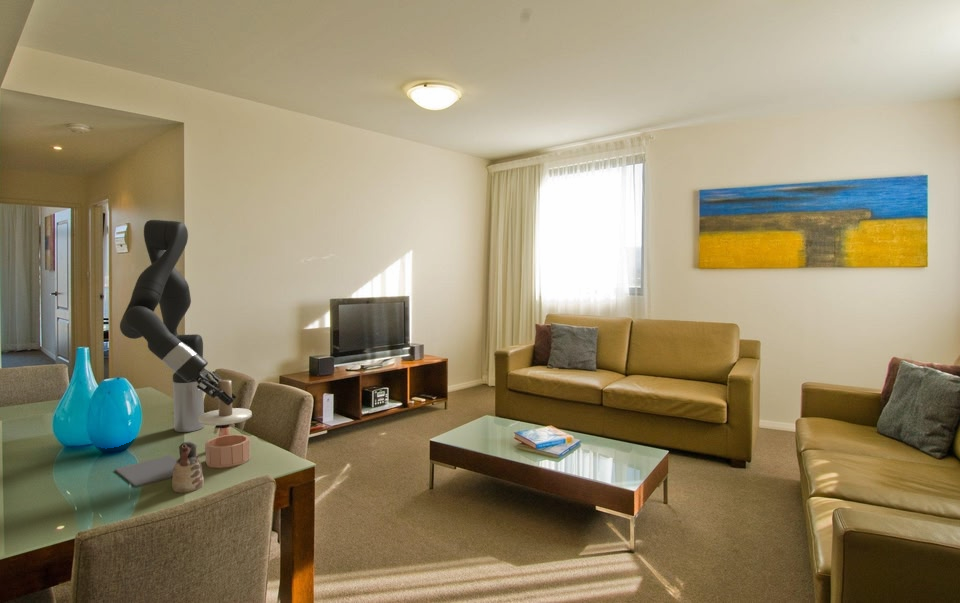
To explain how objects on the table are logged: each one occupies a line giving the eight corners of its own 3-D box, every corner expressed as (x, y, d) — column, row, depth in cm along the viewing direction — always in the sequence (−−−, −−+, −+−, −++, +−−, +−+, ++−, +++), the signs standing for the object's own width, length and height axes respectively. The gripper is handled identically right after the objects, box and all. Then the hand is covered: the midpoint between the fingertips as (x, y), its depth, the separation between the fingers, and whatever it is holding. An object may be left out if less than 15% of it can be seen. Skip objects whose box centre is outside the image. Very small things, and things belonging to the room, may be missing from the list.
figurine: (208, 480, 139) (206, 436, 139) (197, 492, 132) (195, 446, 132) (180, 482, 139) (178, 437, 138) (167, 493, 132) (165, 447, 131)
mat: (115, 470, 146) (114, 468, 146) (169, 456, 157) (169, 455, 157) (135, 487, 135) (135, 485, 135) (193, 471, 146) (193, 469, 146)
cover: (190, 418, 152) (189, 381, 151) (238, 408, 163) (238, 373, 162) (210, 428, 143) (209, 389, 142) (260, 417, 153) (259, 380, 153)
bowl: (199, 461, 153) (198, 441, 153) (238, 450, 162) (238, 431, 162) (217, 471, 146) (216, 450, 145) (257, 459, 155) (256, 440, 154)
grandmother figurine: (222, 450, 162) (221, 410, 161) (211, 450, 163) (210, 410, 162) (238, 442, 169) (237, 404, 169) (228, 441, 170) (227, 403, 169)
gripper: (188, 356, 143) (238, 397, 147) (201, 348, 156) (246, 386, 160) (167, 376, 141) (218, 417, 146) (182, 366, 155) (227, 404, 159)
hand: (232, 400), depth 153 cm, fingers closed on cover, 3 cm apart
